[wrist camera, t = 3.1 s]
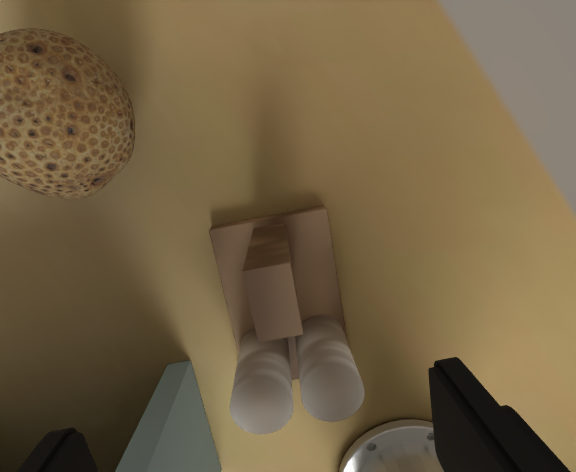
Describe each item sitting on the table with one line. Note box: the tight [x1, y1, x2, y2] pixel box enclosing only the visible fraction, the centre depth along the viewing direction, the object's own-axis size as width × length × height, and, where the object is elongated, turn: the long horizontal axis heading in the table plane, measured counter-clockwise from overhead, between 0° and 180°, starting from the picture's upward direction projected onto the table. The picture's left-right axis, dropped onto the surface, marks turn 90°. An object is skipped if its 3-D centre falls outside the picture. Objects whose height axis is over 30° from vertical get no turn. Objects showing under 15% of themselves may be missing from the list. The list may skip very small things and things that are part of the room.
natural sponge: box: [0, 29, 135, 199], centre depth 21 cm, size 9×9×10 cm
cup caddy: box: [209, 206, 365, 434], centre depth 24 cm, size 9×14×11 cm, turn 10°
